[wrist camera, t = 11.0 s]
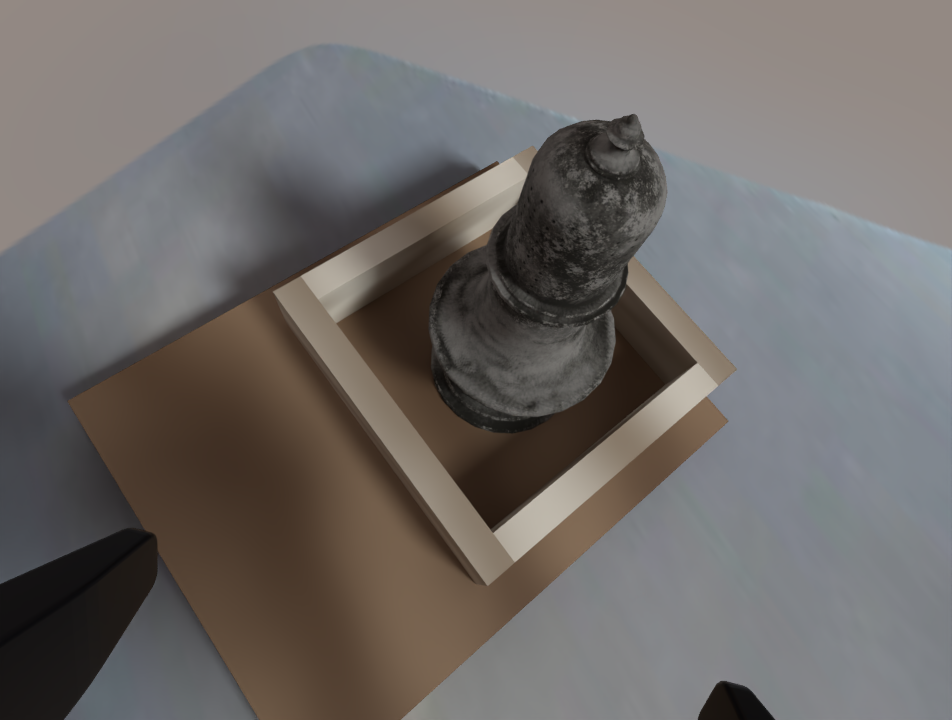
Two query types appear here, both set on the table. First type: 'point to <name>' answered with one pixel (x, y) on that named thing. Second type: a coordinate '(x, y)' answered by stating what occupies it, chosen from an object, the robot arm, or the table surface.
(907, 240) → the table surface
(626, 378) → the board
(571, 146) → the salt shaker
